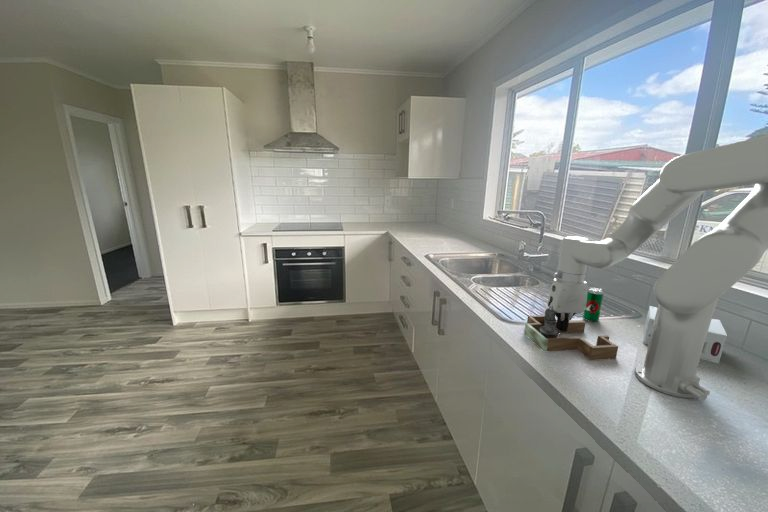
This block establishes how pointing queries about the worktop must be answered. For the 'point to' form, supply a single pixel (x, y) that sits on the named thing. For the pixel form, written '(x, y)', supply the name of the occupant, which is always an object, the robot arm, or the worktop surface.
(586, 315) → the soda can
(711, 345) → the supplement box
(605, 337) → the wooden zigzag wall frame
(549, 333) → the stone chess piece
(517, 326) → the worktop surface
